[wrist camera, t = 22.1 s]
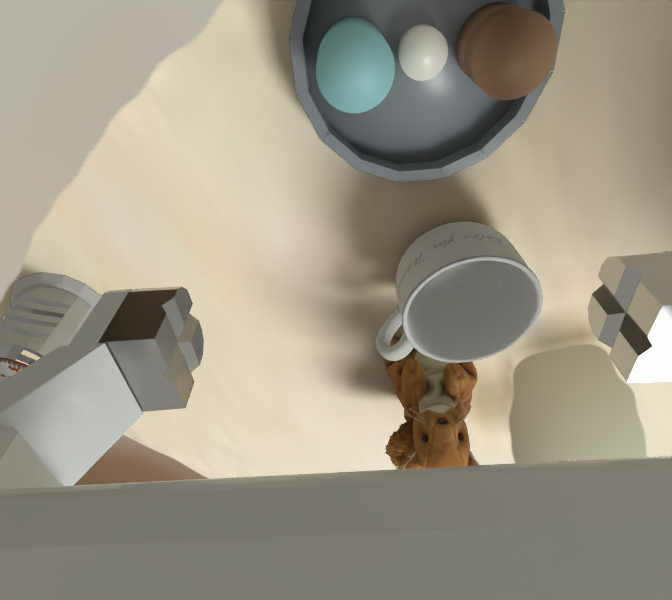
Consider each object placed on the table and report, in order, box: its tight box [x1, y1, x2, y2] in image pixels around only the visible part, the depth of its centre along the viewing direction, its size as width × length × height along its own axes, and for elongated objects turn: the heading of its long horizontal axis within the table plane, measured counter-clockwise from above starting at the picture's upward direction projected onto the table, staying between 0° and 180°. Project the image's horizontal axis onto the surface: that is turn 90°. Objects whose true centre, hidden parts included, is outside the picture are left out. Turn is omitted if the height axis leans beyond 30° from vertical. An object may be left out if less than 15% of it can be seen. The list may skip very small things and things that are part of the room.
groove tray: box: [289, 0, 565, 182], centre depth 29 cm, size 17×17×2 cm
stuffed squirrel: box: [384, 337, 479, 469], centre depth 44 cm, size 10×14×13 cm
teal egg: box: [316, 16, 395, 113], centre depth 28 cm, size 4×4×5 cm
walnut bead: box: [456, 2, 557, 100], centre depth 27 cm, size 4×4×5 cm
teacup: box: [376, 221, 543, 363], centre depth 38 cm, size 14×11×8 cm
